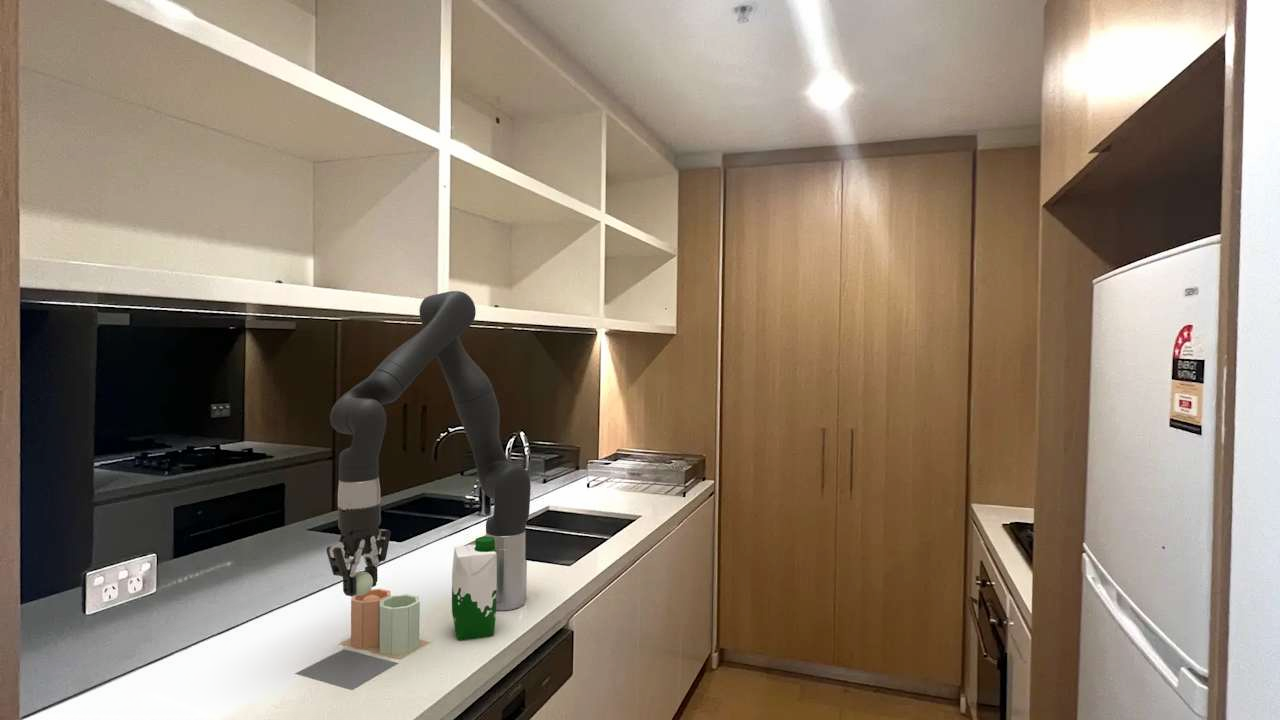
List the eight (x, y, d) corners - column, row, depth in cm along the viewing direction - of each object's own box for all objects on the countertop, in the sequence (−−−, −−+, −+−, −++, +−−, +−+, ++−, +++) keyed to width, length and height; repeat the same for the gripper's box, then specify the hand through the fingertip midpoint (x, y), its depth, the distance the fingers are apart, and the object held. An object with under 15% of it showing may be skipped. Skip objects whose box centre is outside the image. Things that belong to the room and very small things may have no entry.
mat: (343, 652, 131) (343, 649, 131) (398, 666, 125) (398, 663, 125) (294, 676, 120) (294, 673, 120) (352, 693, 115) (352, 689, 115)
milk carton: (498, 639, 137) (499, 543, 137) (453, 646, 134) (454, 547, 134) (492, 623, 145) (493, 532, 145) (449, 629, 142) (450, 536, 142)
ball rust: (370, 625, 136) (371, 606, 139) (387, 613, 135) (387, 595, 139) (353, 618, 133) (354, 599, 136) (371, 606, 132) (371, 587, 136)
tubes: (370, 630, 141) (371, 585, 140) (430, 644, 134) (431, 597, 134) (338, 646, 133) (339, 599, 133) (400, 662, 126) (400, 612, 126)
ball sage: (360, 589, 130) (360, 566, 130) (378, 592, 128) (378, 569, 128) (342, 597, 126) (342, 574, 126) (360, 601, 124) (359, 577, 124)
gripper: (373, 492, 135) (374, 576, 135) (313, 509, 122) (315, 601, 122) (401, 495, 132) (402, 581, 132) (343, 513, 119) (345, 607, 119)
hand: (360, 590), depth 127 cm, fingers closed on ball sage, 4 cm apart
